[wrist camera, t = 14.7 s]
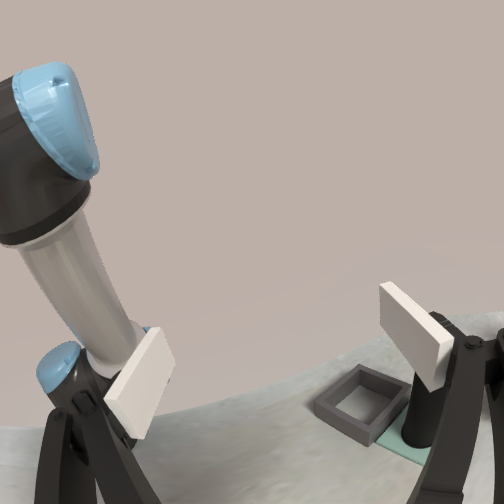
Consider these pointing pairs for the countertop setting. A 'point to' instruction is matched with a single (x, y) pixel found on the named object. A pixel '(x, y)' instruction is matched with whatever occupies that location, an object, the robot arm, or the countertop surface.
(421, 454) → the occupied pad
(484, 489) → the countertop surface
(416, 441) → the aerosol can
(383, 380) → the grey square tray
